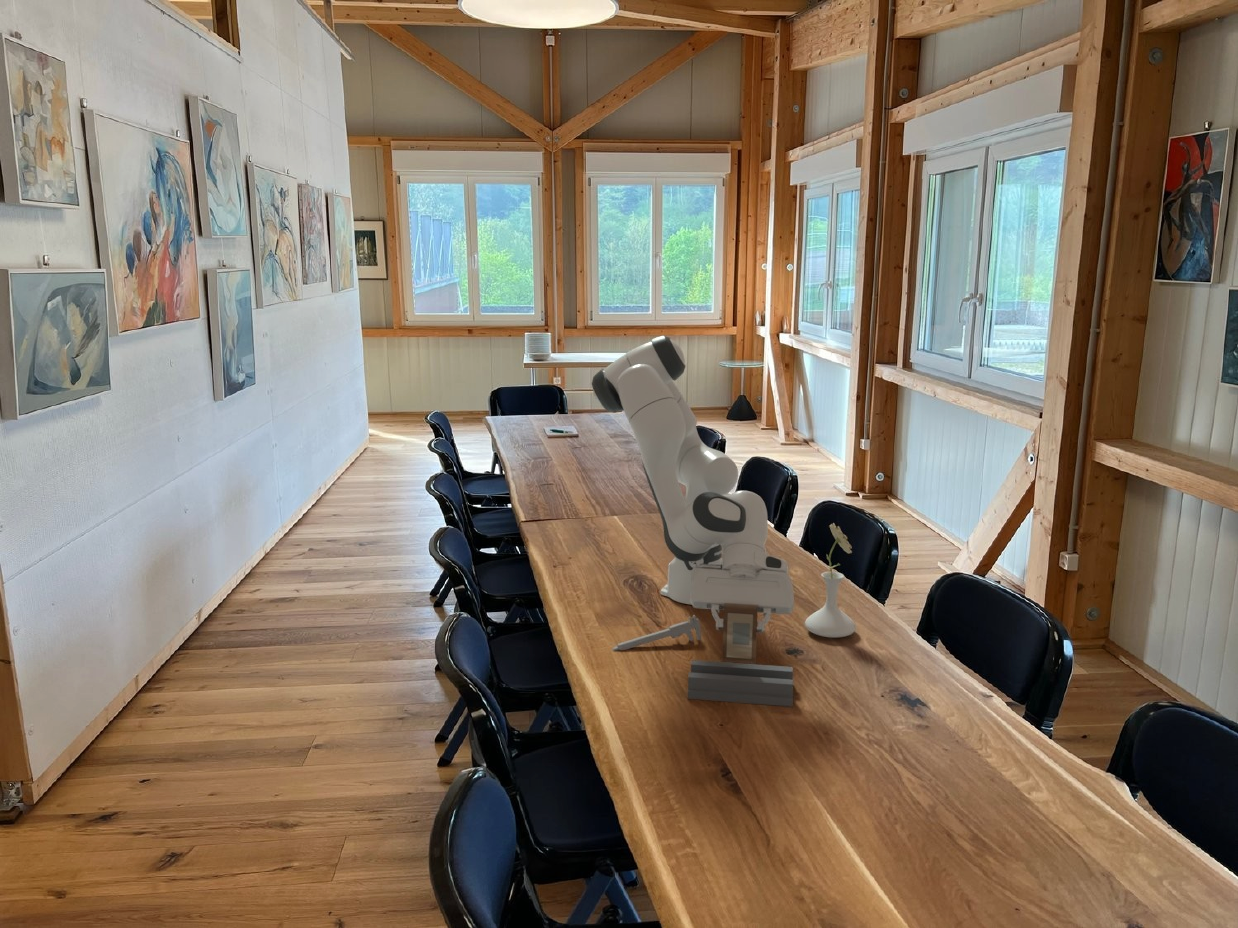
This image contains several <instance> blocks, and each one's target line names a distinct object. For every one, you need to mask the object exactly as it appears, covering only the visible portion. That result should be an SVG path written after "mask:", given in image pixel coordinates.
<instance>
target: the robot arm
mask: <svg viewBox="0 0 1238 928" xmlns="http://www.w3.org/2000/svg"><path fill="white" fill-rule="evenodd" d="M685 369H686V363H685V356H684V353H683V350H682V348H681V347H680V345H678V343H677V342H676V341H674V340H673V339H671V338H670V337H669V336H667V335H661V336H657V337H654V338H652V339H651V341H648V342H646V343H643V344H641V345H638V346H636V347H635V348H633V349H630V350H629V351H627V352H626V353H625V354H624V355H622V356H620V357H619V358H617V359H616V360H615V361H614V360H613V362H612V363H610V364H609V365H608V366H606V367H605V368H601V369H600V370H599V371H598V372H596V374H594V375H593V377H592V379H591V386H592V391H593V396H594V398H595V400H596V402H597V403H598V404H599V405H600V406H601V407H602V408H603V409H604V410H606V412H609V413H614V414H615V413H619V412H622V411H623V413H624V414H625V417H626V418H627V421H628V423H629V425H630V427H631V429H632V431H633V432H632V433H633V435H634V437H635V439H636V442H637V445H638V448H639V452H640V457H641V462H642V467H643V471H644V474H645V478H646V480H647V483H648V486H649V488H650V490H651V493H652V496H653V499H654V501H655V505H656V507H657V510H658V513H659V515H660V518H661V521H662V527H663V536H664V537H663V538H664V542H665V544H666V546H667V548H668V550H669V551H670V552H671V554H673V556H674V558H673V559H672V560H671V561H670V562H669V563H668V567H667V568H668V571H667V583H666V584H665V585H664V586H663V587H662V588H661V589H660V595H662V596H665V597H668V598H669V599H671V600H673V601H675V602H677V603H681V604H686V605H692V607H693V608H695V609H703V610H711V615H712V617H713V619H714V621H715V630H716V631H723V618H720V616H719V615H720V611H724V604H725V603H727V604H742V605H757V606H758V613H761V614H763V618H762V619H761V621H760V620H757V634H758V633H759V634H765V626H766V625H767V624H768V622H769V620H771V619H772V618H771V614H775V615H790V614H791V613H792V612H793V611H794V608H795V607H794V606H795V599H794V596H795V595H794V588H793V581H792V578H791V577H790V575H789V566H788V562H787V561H786V560H785V559H783V558H779V557H776V556H773V555H771V554H768V553H767V549H766V541H767V538H768V531H769V530H768V524H769V523H768V510H767V506H766V503H765V501H764V500H763V498H762V497H761V496H760V495H758V494H757V493H755V492H753V491H749V490H736V491H734V492H732V493H730V492H731V491H732V490H733V489H734V488H735V487H736V484H737V483H738V479H739V469H738V467H737V464H736V463H735V462H734V460H732V458H730V457H729V456H728V455H727V454H725V452H722V451H721V450H717V449H715V448H711V447H709V446H708V445H707V444H705V443H704V442H703V441H702V439H701V438H700V435H699V433H698V430H697V425H698V424H697V422H698V421H697V418H696V415H695V414H694V413H693V412H694V411H692V409H691V408H690V406H689V404H688V402H687V401H686V399H685V397H684V396H683V394H682V392H681V391H680V389H679V387H678V386H677V384H676V383H675V382H676V381H677V379H679V378H680V377H681V376H682V375H683V374H684V373H685ZM674 381H675V382H674ZM680 484H682V485H684V486H685V488H686V491H685V492H686V493H685V495H684V493H683V491H682V488H681V485H680Z"/></svg>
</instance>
